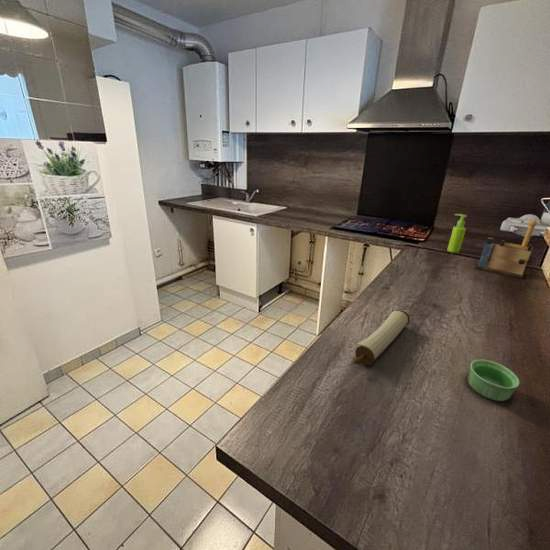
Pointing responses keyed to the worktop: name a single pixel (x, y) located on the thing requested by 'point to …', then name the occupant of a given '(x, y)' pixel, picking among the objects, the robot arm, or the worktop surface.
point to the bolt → (527, 237)
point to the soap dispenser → (457, 235)
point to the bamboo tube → (381, 338)
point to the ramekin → (492, 380)
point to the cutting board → (504, 259)
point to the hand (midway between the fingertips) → (528, 232)
